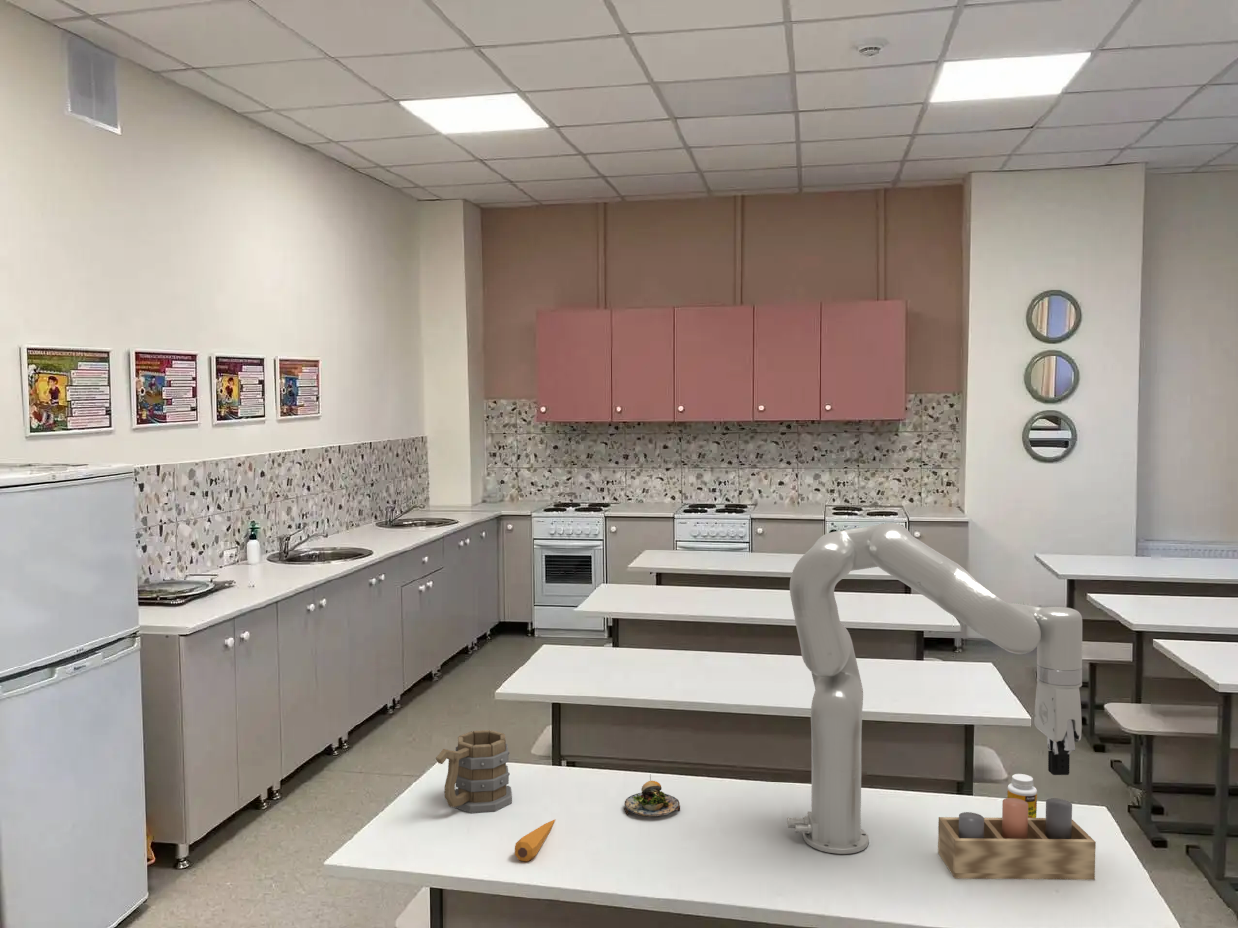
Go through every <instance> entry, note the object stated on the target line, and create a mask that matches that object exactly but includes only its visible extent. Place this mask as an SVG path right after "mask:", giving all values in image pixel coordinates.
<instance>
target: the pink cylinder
mask: <svg viewBox="0 0 1238 928" xmlns="http://www.w3.org/2000/svg"><path fill="white" fill-rule="evenodd" d="M1001 807H1002V808H1001V809H1002V816H1001V818H1002V837H1003V838H1004V839H1028V803H1027V802H1025V801H1023V800H1021V799H1016V798H1004V799H1002V806H1001Z"/></svg>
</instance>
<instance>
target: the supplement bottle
mask: <svg viewBox="0 0 1238 928" xmlns="http://www.w3.org/2000/svg"><path fill="white" fill-rule="evenodd" d="M1007 798H1016V799H1021V800H1023V801H1025V802H1027V803H1028V818H1037V811H1038V810H1037V808H1038V807H1037V804H1038V803H1037V802H1038V790H1037V788H1036V787H1035V786H1034V778H1033V776H1031V775H1028V774H1024V773H1023V774H1022V773H1015V774H1013V775H1012V776H1011V783H1009V784H1008V786H1007Z"/></svg>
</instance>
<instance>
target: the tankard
mask: <svg viewBox="0 0 1238 928" xmlns="http://www.w3.org/2000/svg"><path fill="white" fill-rule="evenodd" d="M509 756H510V751H509V747H508V743H507V742H506V734H505V733H503V732H499V731H496V730H492V729H491V730H490V729H484V730H481V729H480V730H472V731H469V732H465V733H463V734H461V735H459V736H458V737H457V746H455V750H450V749H446V748H442V750H441V751H440V752H439V754H437V756H436V757H435V761H436V763H438V764H440V765H443V764H444V763H445V761H446V760H448V766H447V768H448V769H447V773H446V774H447V775H446V779H445V784H444V799H445V801H446V802H447V804H448V806H449V807H450V808H455V809H458V810H461V811H464V812H466V813H468V814H478V813H491V812H493V813H494V812H497V811H499V810H501V809H503V808H505V807H507V806H508V805H511V804H512V803H513V794H512V793H513V792H512V786H510V785H509V783H510V778H509V776H510V772H509V767H508V765H507V763H508V762H509Z"/></svg>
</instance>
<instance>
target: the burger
mask: <svg viewBox="0 0 1238 928" xmlns="http://www.w3.org/2000/svg"><path fill="white" fill-rule="evenodd" d="M651 776H652V775H649V780H648V781H646V782H645V783H644V784H643V785H642V786H641V792H639V793H634V794H631V795H630V796H628V797H627V798H626V799H625V800H624V808H623V810H624V814H625V815H627V816H628V815H629V812H630V813H633V814H634V815H635V814H636V815H639V816H642V817H643V816H644V817H662V816H665V815H669V814H670V813H673V812H675V811H678V812H681V805H680V801H679V799H678V798H676V797H675V796H674V795H673V796H672V795H670V794H668V793H665V792H663V791H662V785H661V783H659V781H656V780H652V779H651Z"/></svg>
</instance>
